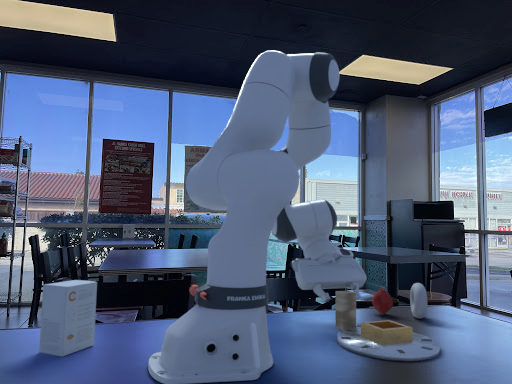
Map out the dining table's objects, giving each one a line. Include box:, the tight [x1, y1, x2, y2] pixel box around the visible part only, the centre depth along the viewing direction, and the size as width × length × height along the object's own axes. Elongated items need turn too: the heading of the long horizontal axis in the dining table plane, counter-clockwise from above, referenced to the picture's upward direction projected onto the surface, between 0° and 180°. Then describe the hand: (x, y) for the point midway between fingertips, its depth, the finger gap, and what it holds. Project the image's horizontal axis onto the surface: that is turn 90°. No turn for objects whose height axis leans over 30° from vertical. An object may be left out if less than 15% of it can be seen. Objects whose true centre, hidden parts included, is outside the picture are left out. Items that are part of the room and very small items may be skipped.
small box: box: [38, 279, 98, 358], centre depth 78 cm, size 8×6×13 cm
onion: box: [371, 287, 394, 316], centre depth 116 cm, size 6×6×8 cm
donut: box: [409, 282, 428, 320], centre depth 112 cm, size 10×4×10 cm, turn 168°
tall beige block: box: [335, 290, 357, 331], centre depth 99 cm, size 4×3×9 cm
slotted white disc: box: [336, 319, 440, 362], centre depth 85 cm, size 21×21×4 cm
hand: (342, 299), depth 101 cm, fingers open, 8 cm apart
